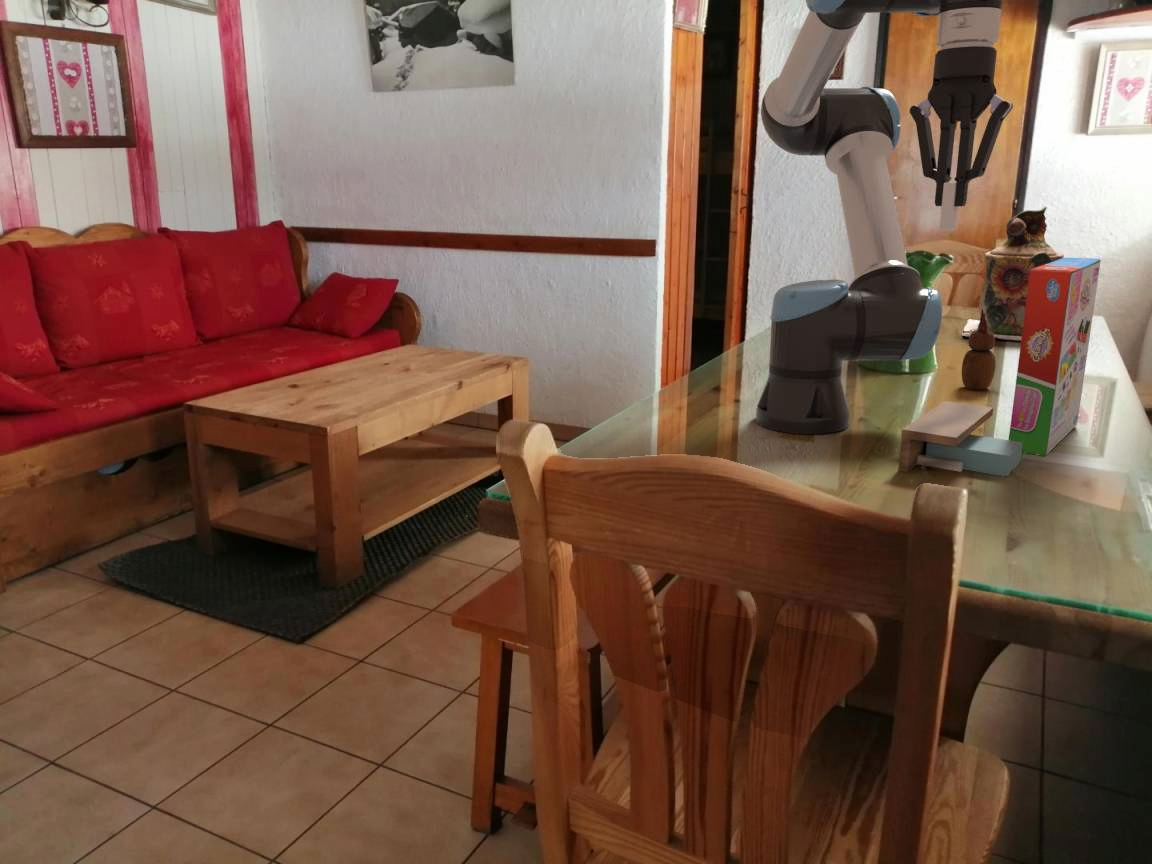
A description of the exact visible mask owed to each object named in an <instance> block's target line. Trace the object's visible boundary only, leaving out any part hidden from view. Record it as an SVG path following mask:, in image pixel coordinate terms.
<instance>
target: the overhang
mask: <svg viewBox="0 0 1152 864" xmlns="http://www.w3.org/2000/svg"><path fill="white" fill-rule="evenodd" d="M993 414H994V407H991V406H986V405H985V406H983V405H976V404H969V403H962V402H961V403H960V402H955V401H954V402H953V401H947V400H943V401H942V402H940V403H939V404H938V405H936V406H935V407H933V408H931V409H930V410H928V411H927V412H926V413H924V414H922V415H921V416H920V417H919V418H917V419H916V420H914V421H913V422H911V423H909V424H908V425H907V426H905V427H904V428H902V430H901V439H900V440H901V441H900V451H899V460H898V471H900V472H904V473H905V472H906V473H907V472H909V471H911V469H913V468H914V467H915V466H916V465H919V466H924V467H925V466H926V467H932V468H937V469H942V470H946V471H947V470H948V471H954V472H959V473H961V472H962V471H963V470H964V469H963V462H961V461H955V460H950V459H944V458H938V457H932V456H926V448H927V442H932V443H938V444H944V445H950V446H956V445H958V444H959V443H960V442H961V441H962V440H964V439H965V438H966V437H967V436H968V435H970V434H972V433H974V432H975V431H976V430H977V429H978V428H980V427H981V426H982V425H983V424H984V423H985V422H987V421H988V420H989V419H990V418H991V417H992V416H993Z"/></svg>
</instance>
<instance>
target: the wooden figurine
mask: <svg viewBox="0 0 1152 864" xmlns="http://www.w3.org/2000/svg"><path fill="white" fill-rule="evenodd" d="M979 320H980V323H979V329H978V330H976V331H973V332H972V333H971V334H970V336H968V343H967V344H968V346H969V348H970V349H969V350H968V351H966V353H965V354H964V356H963V359H962V365H961V381H962V384H963V386H964V387H965V388H966V389H969V390H973V391H983V390H987V389H988V388H990V386H991V384H992V382H993V379H994V375H995V372H996V364H997V363H996V362H997V361H996V355H995V354H994V352H993V351H991V350H992V349H994V347H995V343H996V338H995V336H994V334H993V332H991V331H987V324H986V319H985V313H984V314H983V310H982V312H981V316H980V317H979Z"/></svg>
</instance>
